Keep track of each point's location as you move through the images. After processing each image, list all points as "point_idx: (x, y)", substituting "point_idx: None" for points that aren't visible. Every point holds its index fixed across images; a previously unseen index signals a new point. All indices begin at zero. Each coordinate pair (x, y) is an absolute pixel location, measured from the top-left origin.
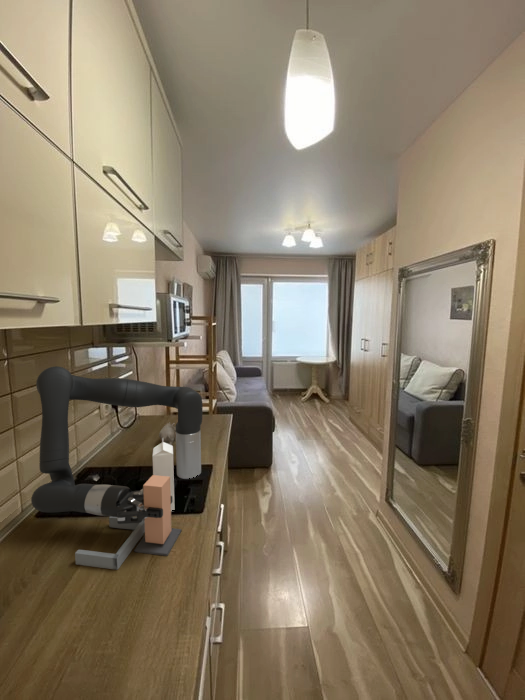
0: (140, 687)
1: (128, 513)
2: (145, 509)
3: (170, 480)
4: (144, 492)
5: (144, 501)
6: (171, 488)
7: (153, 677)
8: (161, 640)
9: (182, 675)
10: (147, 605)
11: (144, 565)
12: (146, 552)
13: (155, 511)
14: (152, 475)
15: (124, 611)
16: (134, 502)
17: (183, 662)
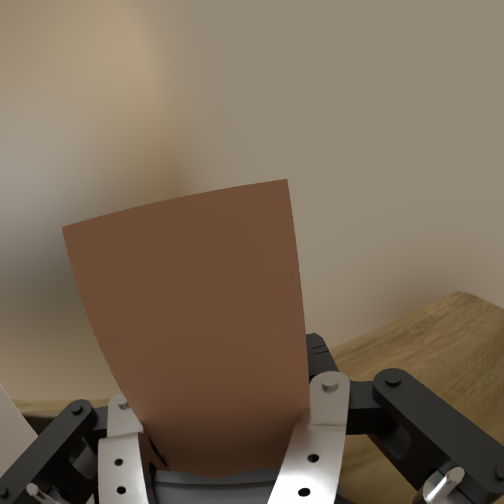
0: (495, 308)
1: (455, 422)
2: (341, 375)
3: (3, 402)
4: (297, 273)
5: (307, 368)
6: (30, 434)
7: (481, 308)
8: (460, 325)
9: (456, 296)
10: (452, 373)
11: (386, 464)
12: (340, 494)
13: (314, 346)
14: (68, 225)
15: (489, 389)
16: (320, 486)
17: (450, 301)
